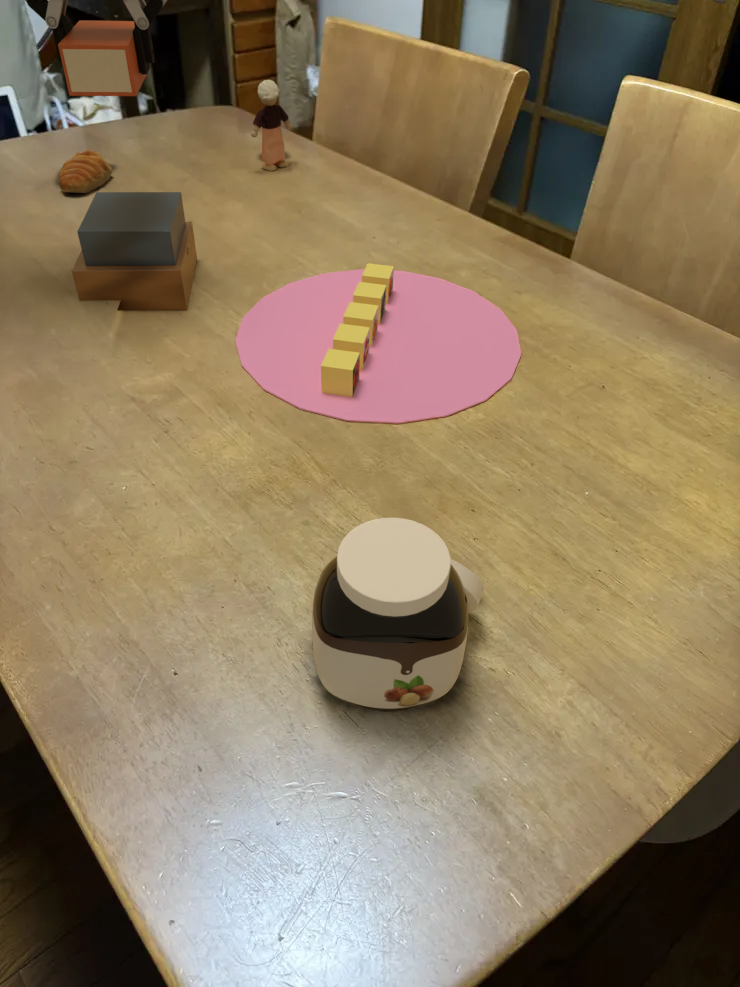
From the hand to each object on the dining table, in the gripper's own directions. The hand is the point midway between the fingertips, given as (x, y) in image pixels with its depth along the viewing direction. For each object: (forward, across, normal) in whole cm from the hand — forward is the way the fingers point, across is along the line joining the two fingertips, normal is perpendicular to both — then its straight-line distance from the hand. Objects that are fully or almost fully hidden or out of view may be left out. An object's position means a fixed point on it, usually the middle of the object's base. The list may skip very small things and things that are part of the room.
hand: (109, 69), depth 77 cm
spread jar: (+23, +25, -56) cm, 66 cm away
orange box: (+1, 0, 0) cm, 1 cm away
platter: (+23, +27, -14) cm, 39 cm away
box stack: (+23, 0, -1) cm, 23 cm away
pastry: (+23, -13, +31) cm, 41 cm away
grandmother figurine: (+23, +15, +38) cm, 47 cm away
